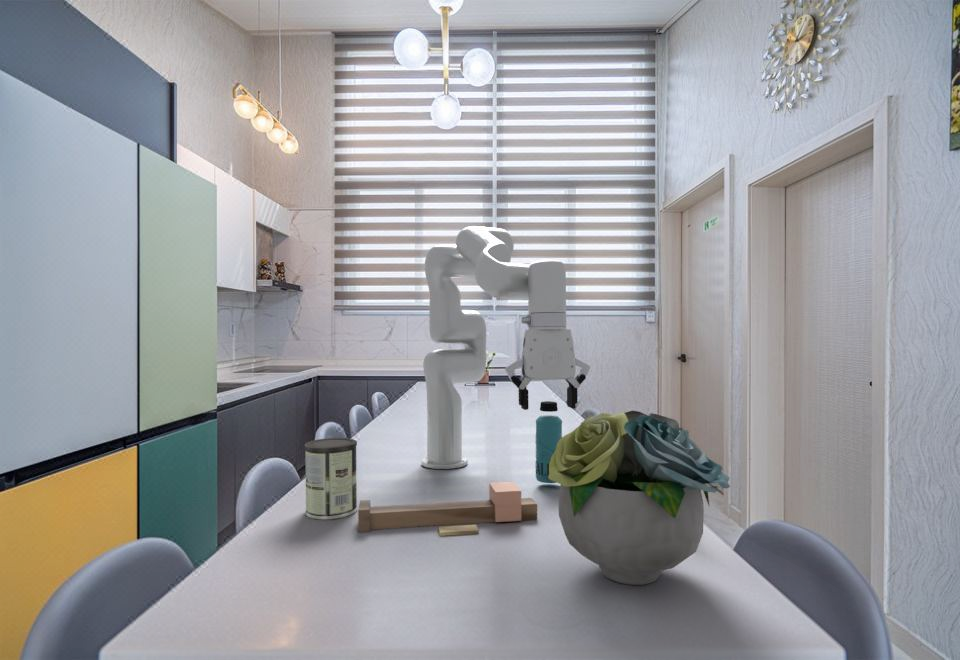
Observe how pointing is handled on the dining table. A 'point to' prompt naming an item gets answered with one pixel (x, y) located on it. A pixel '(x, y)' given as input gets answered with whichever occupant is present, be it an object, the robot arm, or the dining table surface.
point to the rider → (506, 501)
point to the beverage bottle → (546, 440)
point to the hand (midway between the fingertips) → (548, 408)
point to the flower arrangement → (632, 493)
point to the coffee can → (331, 478)
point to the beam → (436, 515)
